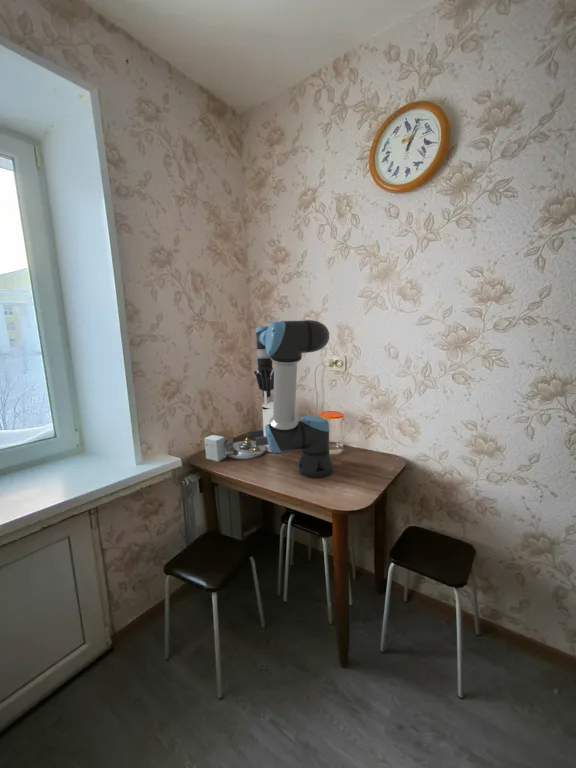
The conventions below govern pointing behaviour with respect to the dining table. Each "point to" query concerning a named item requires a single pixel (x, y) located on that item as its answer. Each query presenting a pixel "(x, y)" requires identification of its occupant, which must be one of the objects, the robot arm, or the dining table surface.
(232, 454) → the plate
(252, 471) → the dining table surface
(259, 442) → the knob near
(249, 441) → the knob right
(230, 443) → the knob left
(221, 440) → the small box
